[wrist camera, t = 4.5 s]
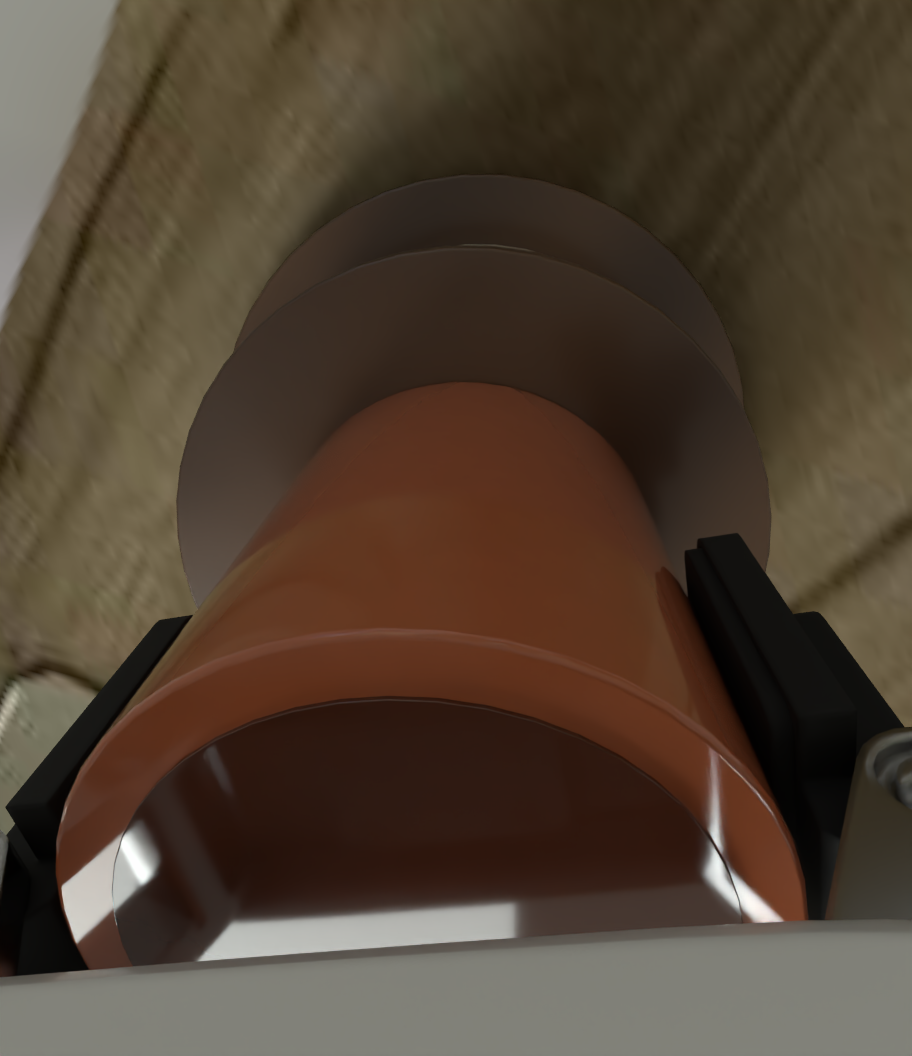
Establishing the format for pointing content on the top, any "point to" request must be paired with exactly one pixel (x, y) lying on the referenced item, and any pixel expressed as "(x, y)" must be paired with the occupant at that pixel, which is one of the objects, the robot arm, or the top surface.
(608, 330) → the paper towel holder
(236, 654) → the terracotta cup
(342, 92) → the top surface
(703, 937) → the robot arm
